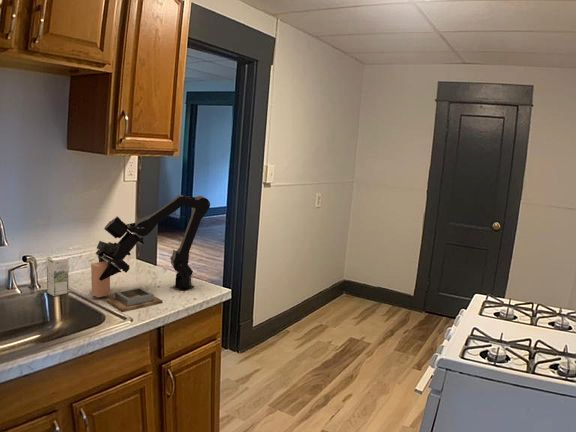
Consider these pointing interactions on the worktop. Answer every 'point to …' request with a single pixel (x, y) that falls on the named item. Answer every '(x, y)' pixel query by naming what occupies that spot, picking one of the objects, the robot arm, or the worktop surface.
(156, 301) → the collar board
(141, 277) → the worktop surface
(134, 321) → the worktop surface
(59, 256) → the syrup box
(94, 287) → the terracotta block
